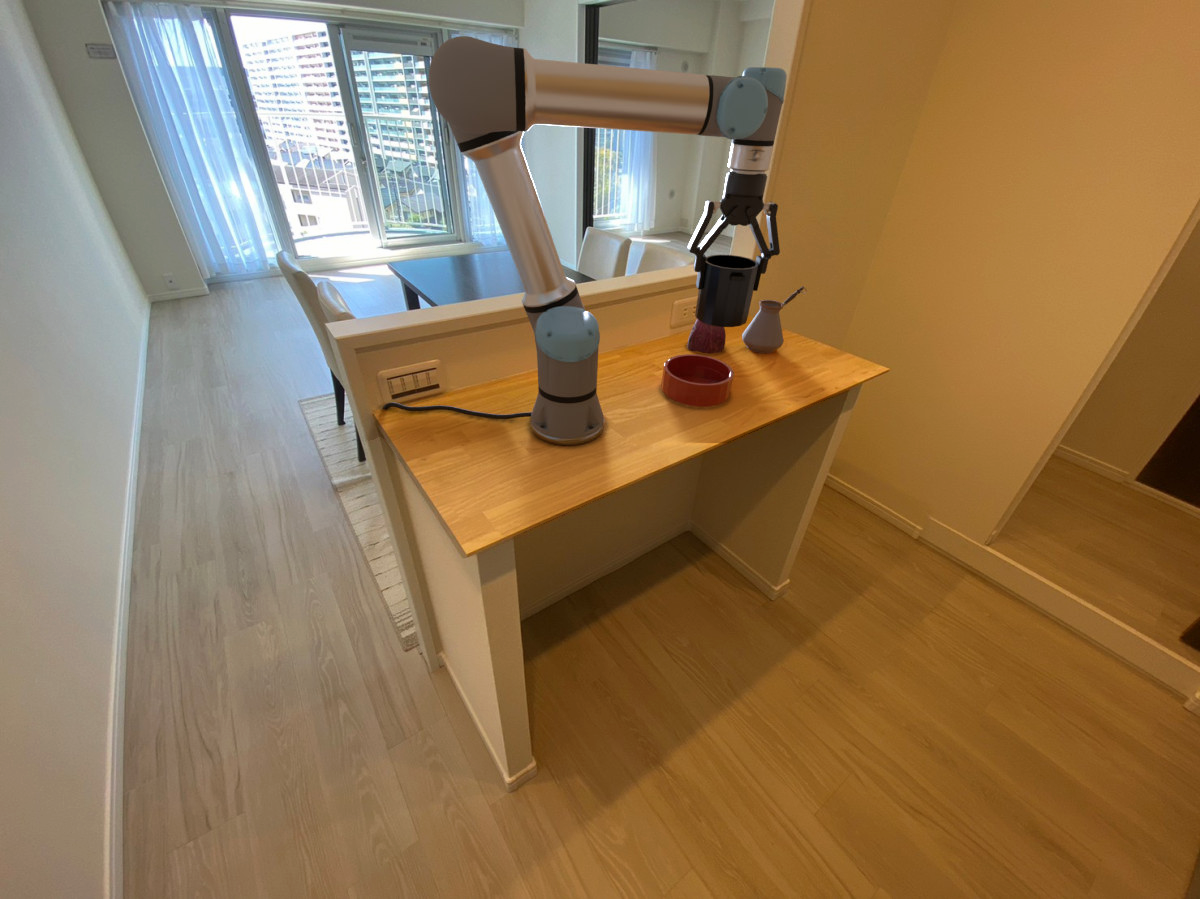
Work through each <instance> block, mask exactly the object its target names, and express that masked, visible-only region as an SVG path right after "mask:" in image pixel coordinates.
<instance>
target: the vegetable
mask: <svg viewBox="0 0 1200 899" xmlns="http://www.w3.org/2000/svg"><path fill="white" fill-rule="evenodd" d="M686 346H687V347H686V348H687V349H688V350H689V351H691V352H699V353H702V354H716V353H722V352H723V351H724V349H725V346H726V329H725V327H719V326H713V325H709V324H706V323H703V322H701V321H700V320H698V319H697V318H696V321H695V322H694V324H693V326H692V328H691V330H690V333H689V336H688V340H687V345H686Z"/></svg>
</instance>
